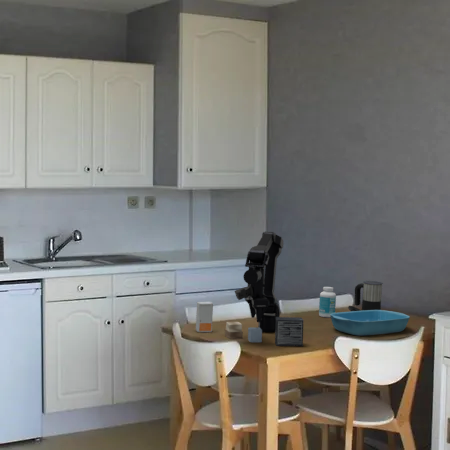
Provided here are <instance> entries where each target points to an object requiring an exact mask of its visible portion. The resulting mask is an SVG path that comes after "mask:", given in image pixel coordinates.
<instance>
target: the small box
mask: <svg viewBox="0 0 450 450" xmlns="http://www.w3.org/2000/svg"><path fill="white" fill-rule="evenodd" d="M304 321H305V320H304V319H303V318H302V317H293V316H290V317H288V316H287V317H286V316H280V317H276V325H275V332H274V335H275V336H274V344H275V346H276V347H303V346H304Z"/></svg>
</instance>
